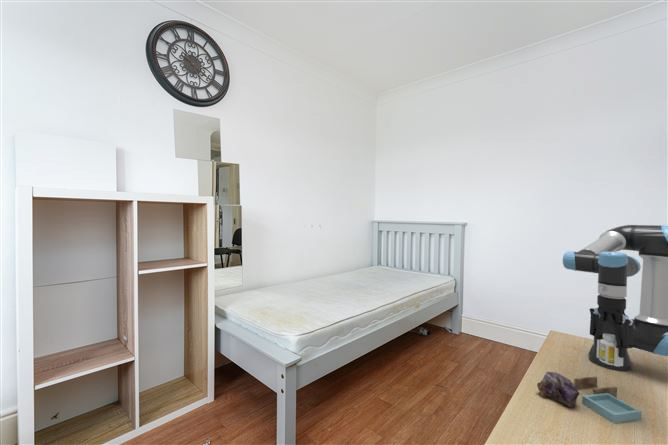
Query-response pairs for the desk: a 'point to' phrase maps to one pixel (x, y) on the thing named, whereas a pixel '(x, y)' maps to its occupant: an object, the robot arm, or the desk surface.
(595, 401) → the tray
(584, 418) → the desk surface
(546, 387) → the rock
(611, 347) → the supplement bottle
